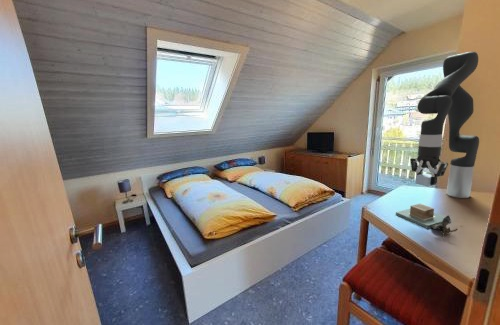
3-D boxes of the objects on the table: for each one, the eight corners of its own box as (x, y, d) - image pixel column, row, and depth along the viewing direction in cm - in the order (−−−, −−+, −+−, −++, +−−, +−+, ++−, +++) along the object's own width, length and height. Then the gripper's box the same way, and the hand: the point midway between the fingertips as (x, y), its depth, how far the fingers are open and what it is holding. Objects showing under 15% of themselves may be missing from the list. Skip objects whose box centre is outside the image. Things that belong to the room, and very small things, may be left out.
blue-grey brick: (423, 181, 98) (424, 173, 97) (435, 184, 93) (436, 175, 92) (415, 183, 96) (416, 174, 95) (427, 186, 92) (428, 177, 91)
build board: (417, 209, 107) (417, 206, 106) (450, 221, 93) (450, 218, 93) (395, 214, 103) (396, 212, 102) (427, 228, 90) (427, 225, 89)
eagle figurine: (463, 237, 80) (454, 222, 87) (453, 223, 79) (445, 209, 87) (439, 243, 84) (433, 228, 92) (429, 229, 84) (423, 215, 91)
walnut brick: (419, 211, 101) (420, 203, 100) (433, 216, 96) (434, 208, 95) (409, 213, 100) (410, 205, 99) (423, 219, 94) (424, 211, 93)
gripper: (456, 145, 85) (450, 186, 89) (418, 142, 99) (415, 177, 102) (443, 147, 83) (437, 189, 87) (406, 144, 97) (403, 180, 100)
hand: (425, 182), depth 95 cm, fingers closed on blue-grey brick, 5 cm apart
